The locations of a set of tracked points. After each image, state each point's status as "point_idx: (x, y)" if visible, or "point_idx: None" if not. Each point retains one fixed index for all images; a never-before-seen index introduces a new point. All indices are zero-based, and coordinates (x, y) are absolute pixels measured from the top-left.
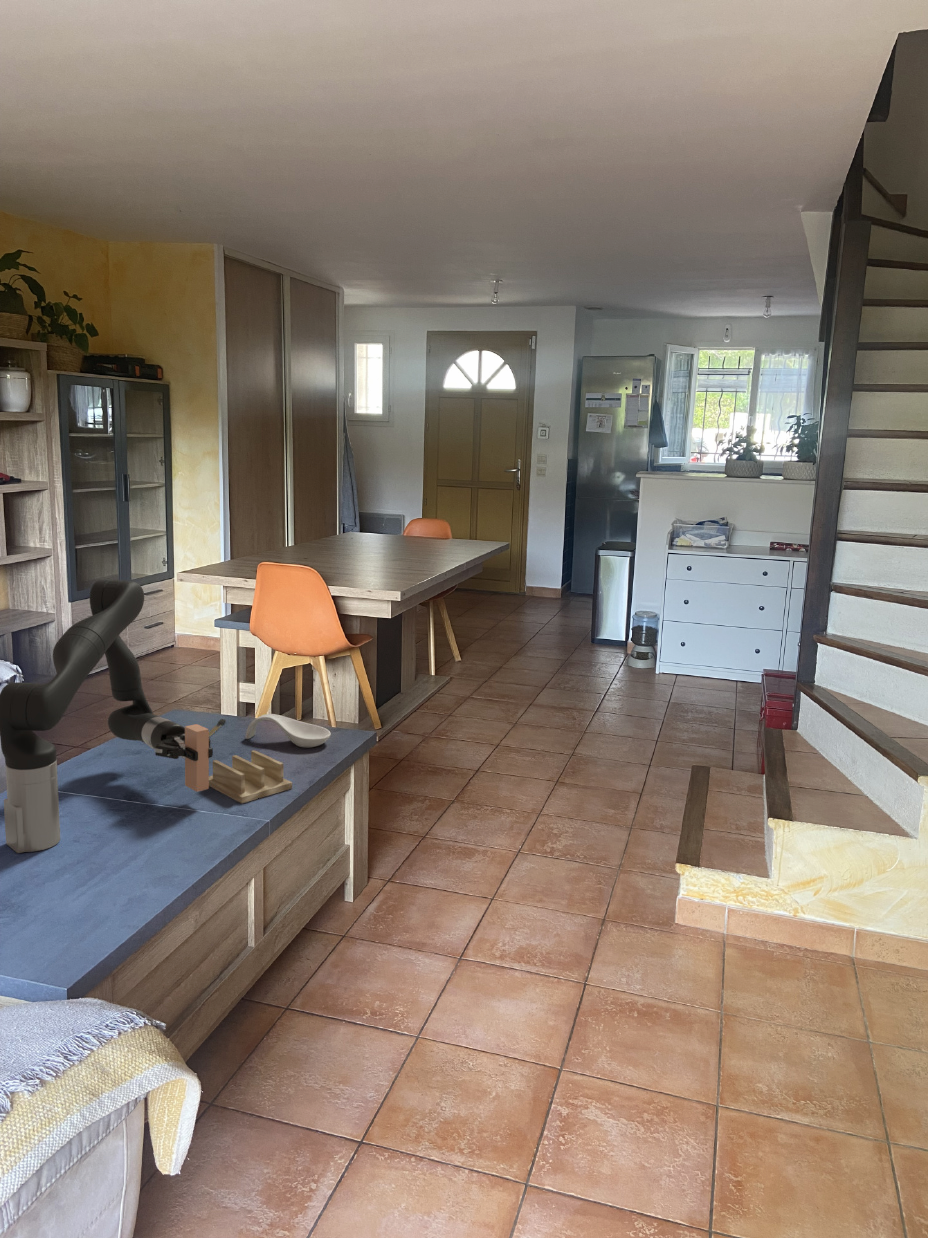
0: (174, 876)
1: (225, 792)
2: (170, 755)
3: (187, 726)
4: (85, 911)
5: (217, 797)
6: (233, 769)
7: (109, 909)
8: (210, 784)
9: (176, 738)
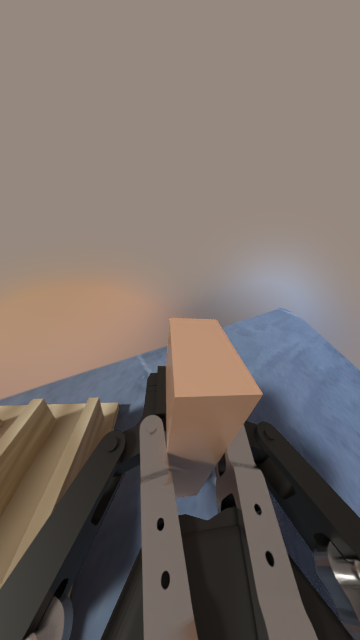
0: (238, 332)
1: None
2: (278, 473)
3: (245, 384)
4: (287, 332)
5: None
6: (70, 445)
7: (273, 328)
8: None
9: (292, 617)
